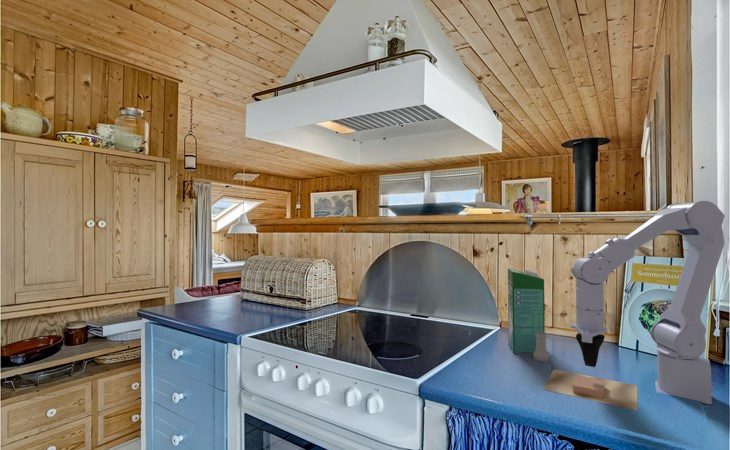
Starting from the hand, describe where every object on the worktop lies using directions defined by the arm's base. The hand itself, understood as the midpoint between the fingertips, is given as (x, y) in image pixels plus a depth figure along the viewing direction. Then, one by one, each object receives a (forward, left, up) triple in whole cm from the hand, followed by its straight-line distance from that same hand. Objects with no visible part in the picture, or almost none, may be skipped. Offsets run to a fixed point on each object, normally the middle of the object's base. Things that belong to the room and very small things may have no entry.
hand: (590, 365), depth 90 cm
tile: (0, -1, -4) cm, 4 cm away
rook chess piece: (+14, -14, -6) cm, 20 cm away
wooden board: (0, +1, -5) cm, 5 cm away
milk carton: (+20, -22, -6) cm, 30 cm away
